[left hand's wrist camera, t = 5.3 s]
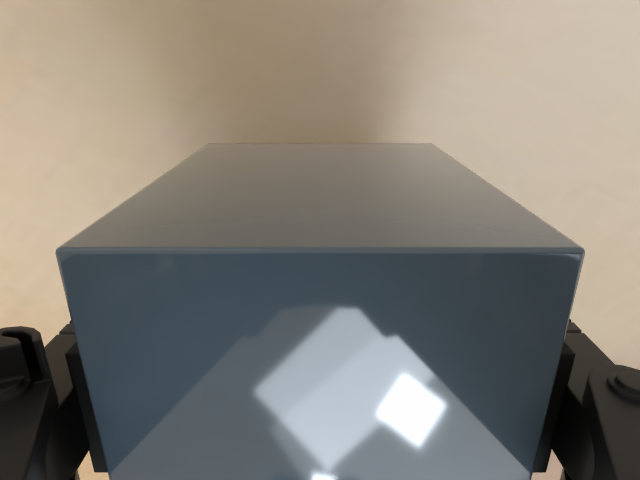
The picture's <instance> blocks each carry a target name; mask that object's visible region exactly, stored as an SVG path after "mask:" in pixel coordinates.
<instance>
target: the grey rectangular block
mask: <svg viewBox="0 0 640 480" xmlns="http://www.w3.org/2000/svg"><path fill="white" fill-rule="evenodd" d="M584 255H585V251H584V248H583V247H581V246H580V245H578V244H577V243H575V242H574V241H572V240H571V239H570V238H568V237H567V236H565V235H564V234H562V233H561V232H559V231H558V230H557V229H555V228H554V227H552V226H551V225H549V224H548V223H546V222H545V221H543V220H542V219H541V218H539V217H538V216H536V215H535V214H533V213H532V212H530V211H529V210H528V209H526V208H525V207H523V206H522V205H520V204H519V203H517V202H516V201H515V200H513V199H512V198H510V197H509V196H507V195H506V194H504V193H503V192H501V191H500V190H499V189H497V188H496V187H494V186H493V185H491V184H490V183H488V182H487V181H486V180H484V179H483V178H481V177H480V176H478V175H477V174H475V173H474V172H473V171H471V170H470V169H468V168H467V167H465V166H464V165H462V164H461V163H459V162H458V161H457V160H455V159H454V158H452V157H451V156H449V155H448V154H446V153H445V152H444V151H442V150H441V149H439V148H438V147H436V146H435V145H433V144H431V143H209V144H207V145H205V146H204V147H203V148H201V149H200V150H198V151H197V152H195V153H194V154H192V155H191V156H189V157H188V158H187V159H185V160H184V161H182V162H181V163H179V164H178V165H176V166H175V167H174V168H172V169H171V170H169V171H168V172H166V173H165V174H163V175H162V176H161V177H159V178H158V179H156V180H155V181H153V182H152V183H150V184H149V185H148V186H146V187H145V188H143V189H142V190H140V191H139V192H137V193H136V194H135V195H133V196H132V197H130V198H129V199H127V200H126V201H124V202H123V203H122V204H120V205H119V206H117V207H116V208H114V209H113V210H111V211H110V212H109V213H107V214H106V215H104V216H103V217H101V218H100V219H98V220H97V221H96V222H94V223H93V224H91V225H90V226H88V227H87V228H85V229H84V230H83V231H81V232H80V233H78V234H77V235H75V236H74V237H72V238H71V239H69V240H68V241H67V242H65V243H64V244H62V245H61V246H59V247H58V248H57V249H56V257H57V261H58V266H59V270H60V274H61V278H62V282H63V287H64V291H65V295H66V299H67V303H68V308H69V312H70V316H71V320H72V324H73V329H74V333H75V337H76V341H77V345H78V350H79V354H80V358H81V362H82V366H83V371H84V375H85V379H86V383H87V387H88V392H89V396H90V400H91V404H92V408H93V412H94V417H95V421H96V425H97V429H98V433H99V438H100V442H101V446H102V450H103V454H104V459H105V463H106V467H107V471H108V475H109V480H531V477H532V473H533V469H534V465H535V460H536V456H537V452H538V448H539V444H540V440H541V435H542V431H543V427H544V423H545V419H546V414H547V410H548V406H549V402H550V398H551V393H552V389H553V385H554V381H555V377H556V372H557V368H558V364H559V360H560V356H561V352H562V347H563V343H564V339H565V335H566V331H567V326H568V322H569V318H570V314H571V310H572V305H573V301H574V297H575V293H576V289H577V285H578V280H579V276H580V272H581V268H582V264H583V259H584Z"/></svg>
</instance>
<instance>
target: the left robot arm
mask: <svg viewBox="0 0 640 480" xmlns="http://www.w3.org/2000/svg"><path fill="white" fill-rule="evenodd" d="M551 450H553V451H554V453H555V454H556V456H557V458H558V459H559V461H560V463H561V464H562V466H563V470H562V474H561V478H560V480H640V370H637V369H634V368H630V367H627V366H623V365H615V364H614V363H613V362H612V361H611V360H610V359H609V358H608V357H607V356H606V355H605V354H604V353H603V352H602V351H601V350H600V349H599V348H598V347H597V346H596V345H595V344H594V343H593V342H592V341H591V340H590V339H589V338H588V337H587V336H586V335H585V334H584V333H581V330H580V329H579V328H578V327H577V326H576V325H575V324H574V323H571V320H570V319H569V322H568V326H567V331H566V335H565V339H564V343H563V347H562V352H561V356H560V360H559V364H558V368H557V372H556V377H555V381H554V385H553V389H552V393H551V398H550V402H549V406H548V410H547V414H546V419H545V423H544V427H543V431H542V435H541V440H540V444H539V448H538V452H537V456H536V460H535V465H534V469H533V472H546V469H547V465H548V461H549V458H550V454H551ZM88 451H89V452H90V456H91V460H92V464H93V468H94V472H108V471H107V467H106V463H105V459H104V454H103V450H102V446H101V442H100V438H99V433H98V429H97V425H96V421H95V417H94V412H93V408H92V404H91V400H90V396H89V392H88V387H87V383H86V379H85V375H84V371H83V366H82V362H81V358H80V354H79V350H78V345H77V341H76V337H75V333H74V329H73V324H72V320H71V321H70V324H67V325H66V326H65V327H64V328H63V329H62V330H61V331H60V334H59V335H56V336H55V337H54V338H53V339H52V340H51V341H50V342H49V343H48V344H47V345H46V346H45V347H44V345H43V341H42V338H41V334H40V332H38V331H37V330H35V329H34V328H29V327H22V326H19V327H7V328H2V329H0V480H80V478H79V474H78V470H77V469H78V467H79V466H80V464H81V462H82V461H83V459H84V457H85V456H86V454H87V452H88Z"/></svg>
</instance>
